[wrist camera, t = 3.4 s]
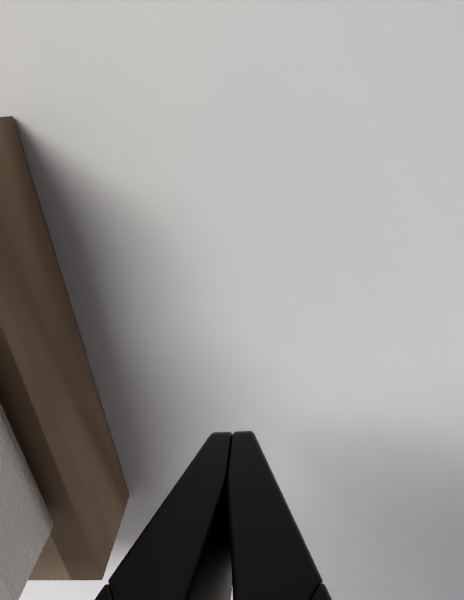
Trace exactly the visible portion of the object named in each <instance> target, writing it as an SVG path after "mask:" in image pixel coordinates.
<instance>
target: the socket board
mask: <svg viewBox="0 0 464 600" xmlns="http://www.w3.org/2000/svg"><path fill="white" fill-rule="evenodd" d="M0 402H1V405H2V407H3V409H4V411H5V414H6V416H7V418H8V421H9V423H10V425H11V427H12V430H13V432H14V434H15V437H16V439H17V441H18V443H19V446H20V448H21V450H22V453H23V455H24V457H25V459H26V462H27V464H28V466H29V468H30V471H31V473H32V475H33V478H34V480H35V482H36V484H37V487H38V489H39V491H40V494H41V496H42V498H43V500H44V503H45V505H46V507H47V510H48V512H49V514H50V516H51V519H52V521H53V523H54V526H53V528H52V530H51V532H50V534H49V537H48V539H47V541H46V543H45V545H44V547H43V549H42V551H41V553H40V555H39V558H38V560H37V562H36V564H35V566H34V568H33V570H32V572H31V574H30V577H29V579H28V580H102V579H103V576H104V573H105V570H106V567H107V563H108V560H109V557H110V554H111V551H112V548H113V545H114V542H115V539H116V536H117V532H118V529H119V526H120V523H121V520H122V517H123V514H124V511H125V508H126V505H127V501H128V498H129V494H128V490H127V487H126V484H125V481H124V477H123V474H122V471H121V468H120V464H119V461H118V458H117V455H116V451H115V448H114V445H113V441H112V438H111V435H110V432H109V428H108V425H107V422H106V419H105V415H104V412H103V409H102V406H101V402H100V399H99V396H98V393H97V389H96V386H95V383H94V380H93V376H92V373H91V370H90V367H89V363H88V360H87V357H86V353H85V350H84V347H83V344H82V340H81V337H80V334H79V331H78V327H77V324H76V321H75V318H74V314H73V311H72V308H71V305H70V301H69V298H68V295H67V292H66V288H65V285H64V282H63V278H62V275H61V272H60V269H59V265H58V262H57V259H56V256H55V252H54V249H53V246H52V243H51V239H50V236H49V233H48V230H47V226H46V223H45V220H44V217H43V213H42V210H41V207H40V204H39V200H38V197H37V194H36V190H35V187H34V184H33V181H32V177H31V174H30V171H29V168H28V164H27V161H26V158H25V155H24V151H23V148H22V145H21V142H20V138H19V135H18V132H17V129H16V125H15V122H14V119H13V116H10V117H0Z"/></svg>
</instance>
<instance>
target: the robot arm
mask: <svg viewBox="0 0 464 600" xmlns="http://www.w3.org/2000/svg"><path fill="white" fill-rule="evenodd" d="M108 582H109V585H108V584H106V585H105V586H104V587H103V588H102V590H101V591H100V593H99V594H98V596H97V597H96V599H95V600H230V598H231V590H232V586H233V600H332V599H331V597H330V595H329V593H328V591H327V588H326V586H325V585H324V584H323V583H322V578H321V576H320V574H319V572H318V570H317V567H316V565H315V563H314V561H313V559H312V557H311V555H310V552H309V550H308V548H307V546H306V544H305V542H304V540H303V537H302V535H301V533H300V531H299V529H298V527H297V525H296V522H295V520H294V518H293V516H292V514H291V512H290V510H289V507H288V505H287V503H286V501H285V499H284V497H283V494H282V492H281V490H280V488H279V486H278V484H277V482H276V479H275V477H274V475H273V473H272V471H271V469H270V467H269V464H268V462H267V460H266V458H265V456H264V454H263V452H262V449H261V447H260V445H259V443H258V441H257V439H256V436H255V434H254V433H253V432H252V431H237V432H234V433H233V435H232V433H230V432H214V433H212V434H211V435H210V436H209V438H208V439H207V440H206V442H205V443H204V445H203V446H202V448H201V449H200V450H199V452H198V453H197V455H196V456H195V458H194V459H193V460H192V462H191V463H190V465H189V466H188V468H187V469H186V470H185V472H184V473H183V475H182V476H181V478H180V479H179V480H178V482H177V483H176V485H175V486H174V488H173V489H172V490H171V492H170V493H169V495H168V496H167V498H166V499H165V500H164V502H163V503H162V505H161V506H160V508H159V509H158V510H157V512H156V513H155V515H154V516H153V517H152V519H151V520H150V522H149V523H148V525H147V526H146V527H145V529H144V530H143V532H142V533H141V535H140V536H139V537H138V539H137V540H136V542H135V543H134V545H133V546H132V547H131V549H130V550H129V552H128V553H127V555H126V556H125V557H124V559H123V560H122V562H121V563H120V565H119V566H118V567H117V569H116V570H115V572H114V573H113V575H112V576H111V577H110V579H109V581H108Z"/></svg>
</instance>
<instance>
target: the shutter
mask: <svg viewBox="0 0 464 600" xmlns="http://www.w3.org/2000/svg"><path fill="white" fill-rule="evenodd" d="M53 526H54V523H53V521H52V519H51V516H50V514H49V512H48V510H47V507H46V505H45V503H44V500H43V498H42V496H41V494H40V491H39V489H38V487H37V484H36V482H35V480H34V478H33V475H32V473H31V471H30V468H29V466H28V464H27V462H26V459H25V457H24V455H23V453H22V450H21V448H20V446H19V443H18V441H17V439H16V437H15V434H14V432H13V430H12V427H11V425H10V423H9V421H8V418H7V416H6V414H5V411H4V409H3V407H2V405H1V402H0V600H19V598H20V595H21V593H22V591H23V589H24V587H25V585H26V583H27V581H28V579H29V577H30V574H31V572H32V570H33V568H34V566H35V564H36V562H37V560H38V558H39V555H40V553H41V551H42V549H43V547H44V545H45V543H46V541H47V539H48V537H49V534H50V532H51V530H52V528H53Z"/></svg>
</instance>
